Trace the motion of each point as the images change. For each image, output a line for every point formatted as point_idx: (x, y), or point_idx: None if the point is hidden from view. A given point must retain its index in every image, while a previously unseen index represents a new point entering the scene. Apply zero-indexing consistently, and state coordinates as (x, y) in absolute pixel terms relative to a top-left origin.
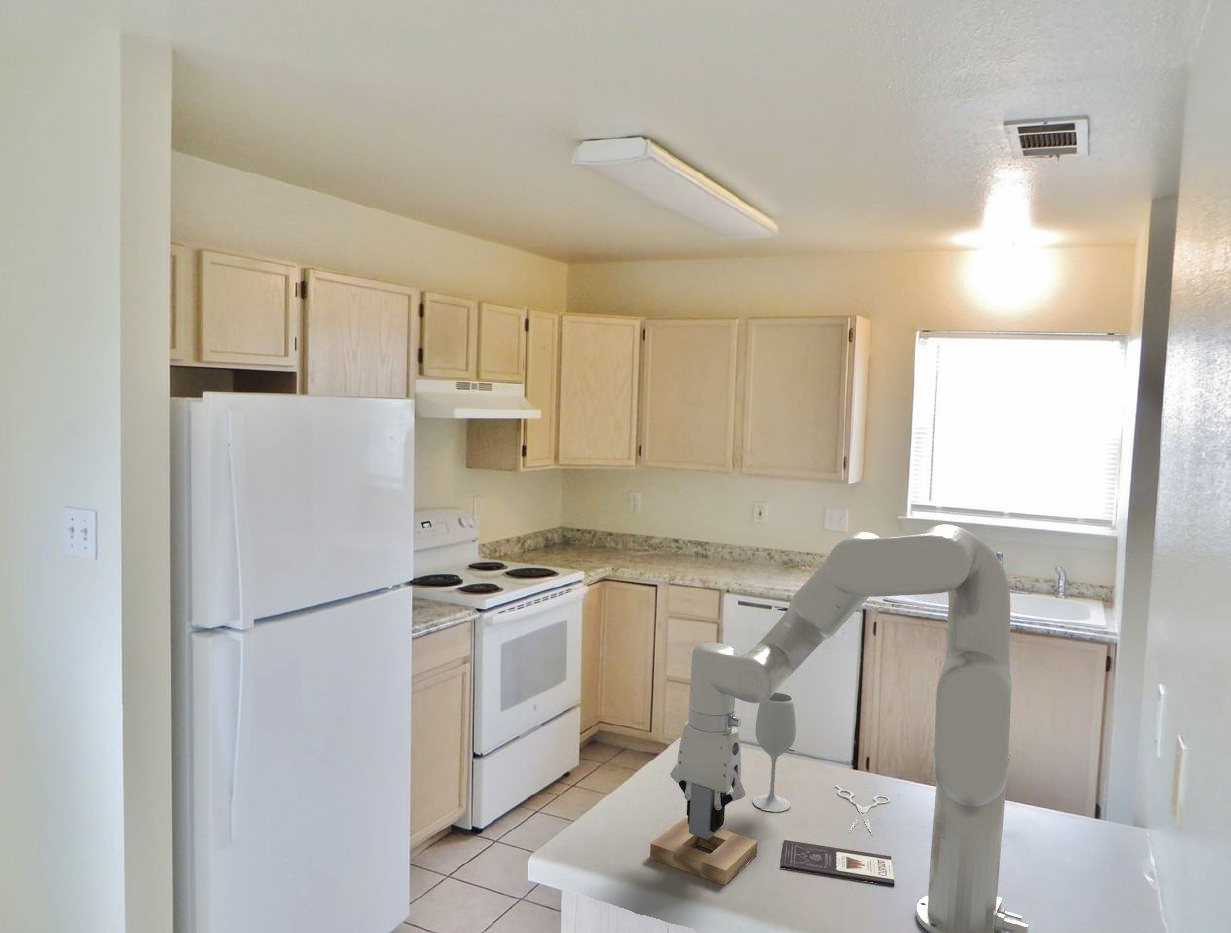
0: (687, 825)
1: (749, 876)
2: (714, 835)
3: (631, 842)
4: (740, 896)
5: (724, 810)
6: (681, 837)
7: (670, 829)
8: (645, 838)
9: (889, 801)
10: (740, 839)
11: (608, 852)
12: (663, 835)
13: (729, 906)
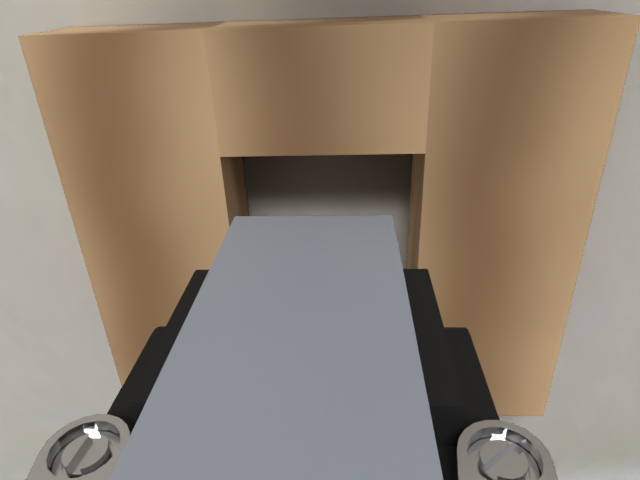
0: (120, 141)
1: (602, 246)
2: (332, 149)
3: (5, 305)
4: (602, 391)
5: (494, 411)
6: None
7: (89, 248)
8: (12, 241)
9: None
10: (510, 83)
11: (19, 407)
12: (114, 323)
13: (578, 455)
